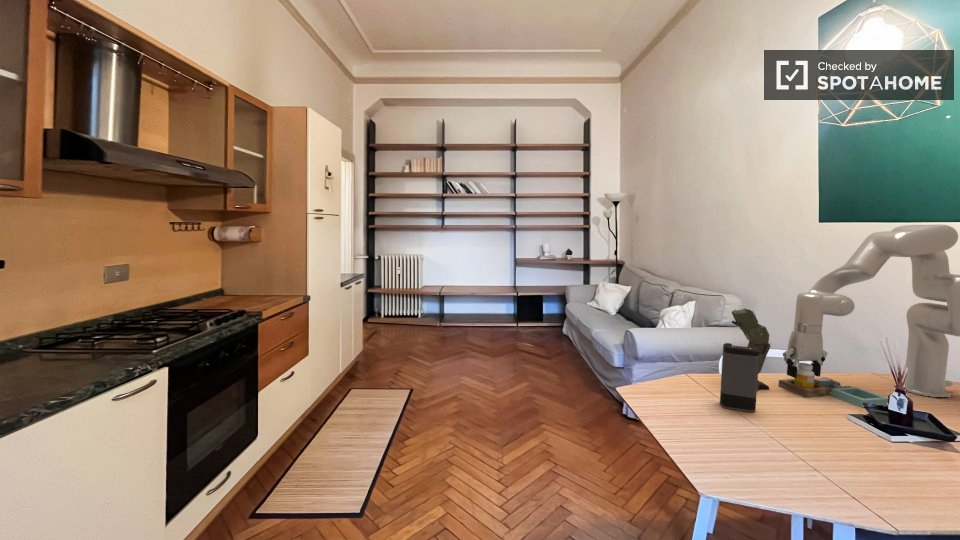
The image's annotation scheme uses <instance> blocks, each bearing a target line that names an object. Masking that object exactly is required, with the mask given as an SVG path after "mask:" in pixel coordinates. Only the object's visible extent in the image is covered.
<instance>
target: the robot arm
mask: <svg viewBox="0 0 960 540" xmlns="http://www.w3.org/2000/svg"><path fill="white" fill-rule="evenodd" d="M958 241H959V233H958V230H956V229H955V228H954V227H952V226H950V225H948V224H908V225H901V226H897V227H894V228H893V229H891V231H887V230H886V231H885V230H884V231H876V232H872V233H871V234H869V235H867V237H866V238H865V239H864V240H863V241H862V242H861V244H860V245H859V247H857V249H856V251H854V252H853V254H852V255H851V257H850V258H849V259H848V260H847V261H846V262H845V263H844V264H843V265H842V266H840V267H838V268H836V269H834V270H833V271H830V272H829V273H827V274H825V275H824V276H822V277H821V278H820V279H819V280H818V281H816V282H815V283H814V285H812V287H811V288H810V290H809V291H808V292H801V293H798V294H797V296H796V302H795V303H796V304H795V313H794V314H795V315H794V325H793V330H792V331H791V333H790V336H789V340H788V344H787V350H785V351H784V352H782V356H783V360H784V361H785V365H787V368H786V375H787V376H789V377H791V378H793V379H795V378H796V377H797V369H798V363H800V362H811V363H810V364H811V365H812V366H813V369H812V370H811V371H813V372H814V374H815V376H814V377H819V378H821V373H822V372H821V371H822V366H823V364H824V362H825V361H826V358H827V356H828V354H829V353H828V352H827V351H825V350H824V341H823V340H824V338H823V333H822V332H823V321H824V316H825V315H827V316H834V317H846V316H849V315H851V314H852V313H853V311H854V310H855V302H854V301H853V299H852V298H850V297H849V296H847V295H843V294H840V293H836V292H837V291H839V290H840V289H842V288H844V287H846V286H849V285H852V284H858V283H862V282H866V281H868V280H871V279H873V278H874V277H875V276H876V275H877V274H878V273H879V272H880V270H881V269H882V268H883V266H884V265H886V263H887V262H888V261H889V259H890V258H891V257H893V258H894V257H895V258H910V261H911V262H910V263H911V279H912V281H911V284H912V286H911V287H912V292H913V294H914V295H915V296H916V297H918V298H920V299H924V300H929V301H935V302H941V303H946V304H940V303H934V302H933V303H932V302H918V303H914V304H913V305H910V307H909V308H908V309H907V310H906V323H907V328H908V338H907V347H906V348H907V351H906V357H905V358H906V360H905V361H906V362H905V370H906V368H907V367H908V374H907V379H906V382H905V388H906V390H907V391H906V392H909V393H910V394H915V395H918V396H922V397H923V396H924V397H928V396H930V397H931V398H935V397H949V396H950V397H951V395H952V393H951V392H950V391H948V390H947V389H946V387H952V386H953V385H954V384H953V382H952V381H951V380H946V377H947V367H948V358H949V350H950V343H949V340H948V338H947V336H946V335H949V336H953V337H960V274H953V273H952V274H951V272H950V264H949V263H950V262H949V261H950V260H949V258H948V254H947V253H946V251H948V250H950V249H951V248H953V247H954V246H955V245H956V243H957V242H958ZM930 397H929V398H930ZM950 397H949V398H950Z"/></svg>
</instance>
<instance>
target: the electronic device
mask: <svg viewBox="0 0 960 540" xmlns="http://www.w3.org/2000/svg"><path fill="white" fill-rule="evenodd" d="M758 367H759V349H758V348H757V347H755V346H751V345H748V344H747V346H743V345H742V346H740V345H733V343H730V342H728V343H727V342H726V343H724V344H723V345H722V360H721V377H720V379H721V380H720V396H719V397H720V398H719V403H720V406H721V407H722V408H724V407H725V408H724V409H727V408H729V409H728V410H733V409H735V410H734V411H739V410H740V411H739V412H746V413H754V412H756V410H757V409H756V408H757V395H758V394H757V392H758V391H757V382H758V381H759V380H758V379H759V374H758Z"/></svg>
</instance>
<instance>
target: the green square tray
mask: <svg viewBox="0 0 960 540" xmlns="http://www.w3.org/2000/svg"><path fill="white" fill-rule="evenodd" d="M830 397H833V398H836V399H839V400H841V401H844V402H846V403H848V404H852V405H854V406H856V407H859V408H862V409H864V408H863V403H872V404H879V405H887V403H888V399H889V400H890V397H889V398H888V397H886V396H883V395H879V394H877V393H874V392H872V391H868V390H865V389H862V388H860V387H858V386H857V387H856V386H852V387H848V388H834V389H831V392H830Z"/></svg>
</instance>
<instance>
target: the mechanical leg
mask: <svg viewBox="0 0 960 540" xmlns="http://www.w3.org/2000/svg"><path fill="white" fill-rule="evenodd" d="M731 314H732V316H733V319H734V320H732V321H731V324H733V325H734V326H737V327H738V328H739V329H740V330H741V332H743V334H744V336H745V338H746V339H747V340H748V344H747V346H748V345H751V346H755V347H757V348H758V349H759V367H758V375H759V374H760V373H761V372H762V368H763V366H764V363H765V360H766V358H767V355H768V353H769V350H770V349H771V344H770V343H769V342H770V333H769V331H768V329H767V327H766V326H765V325H764V326H763V325H762V324H760V323H759V320H758V319H757V317H756V315H755V313H754V311H752V310H751V309H750V308H749V309H748V308H745V307H744V308H743V309H734V310H732V311H731ZM757 390H761V391H763V390H766V391H767V390H768V391H769V390H770V386H769V385H767V384H765V383H764V382H763V381H760V380H758V382H757Z"/></svg>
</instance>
